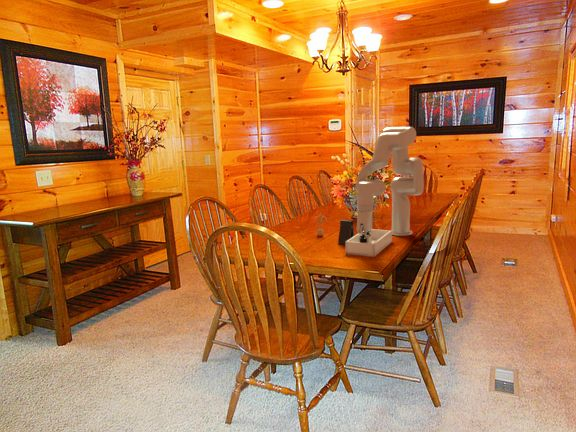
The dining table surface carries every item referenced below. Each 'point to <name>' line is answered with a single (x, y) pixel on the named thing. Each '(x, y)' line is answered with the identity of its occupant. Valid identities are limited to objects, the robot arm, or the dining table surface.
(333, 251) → the dining table surface
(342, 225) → the phone stand
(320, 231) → the figurine
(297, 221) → the dining table surface
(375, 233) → the tote
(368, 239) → the beige cube
